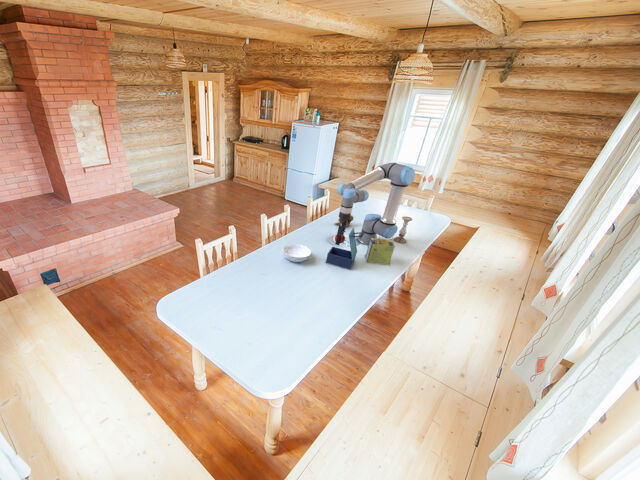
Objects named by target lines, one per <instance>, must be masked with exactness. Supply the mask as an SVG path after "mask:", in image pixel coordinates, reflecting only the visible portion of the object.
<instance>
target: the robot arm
mask: <svg viewBox="0 0 640 480" xmlns="http://www.w3.org/2000/svg"><path fill="white" fill-rule="evenodd" d="M415 177H416V171H415V169H414V168H413V167H411V166H409V165H405V164H401V163H397V162H388V163H383V164H381V165H379V166H377V167H375V168H374V170H372V171H370V172H368V173H366V174H364V175H362V176H360V177H358V178H356V179H355V180H352V181H350V182H348V183H347V184H345V183H340V184H339V185H338V186H337V189H336V193H337V194H338V195H340V196H342V198H341V203H340V204H341V205H340V206H339V213H338V219H339V218H341V220H340V223H339V225H338V227H337V232H336V234H335V236H336V237H337V239H336V241H335V245H336V246H340V244H341V243H340V240H341V234H343V235H344V236H345V234H344V233H346V228H347V227H346V223H347V219H350V216H351V215H352V212H353V207H354V204H356V203H363V202H365V201H368V199H369V196H370V195H369V191H367V190H366V189H364V188H366V187H367V186H369V185H371V184H373V183H376V182H377V181H382V180H386V179H388V180H390V183H389V184H390V186H391V188H390V192H389V195H388V197H387V202H386V205H385V208H384V212H383V215H381V214H378V213H367V214H366V215H365V217H364V219H363V222H362V228H361V231H360V232H362V231H364V232H365V233H364V235H363V237H362V238H360V237H356V241H357V242H358V243H360V244H363V245H366V246H368V245H369V242H370V238H377V237H378V236H381V238H383V239H386V240H389V239H391V238H393V236H395V235H396V234H397V232H398V230H399V227H398V225H396V224H397V220H396V218H397V215H398V210H399V208H400V205H401V201H402V198H403V196H404V192H405V189H406V188H408V186H409V185H411V184H412V183H413V182H414V181H415V179H416V178H415ZM358 236H360V234H358ZM377 239H378V238H377Z"/></svg>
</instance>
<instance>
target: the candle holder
mask: <svg viewBox="0 0 640 480" xmlns="http://www.w3.org/2000/svg"><path fill="white" fill-rule="evenodd" d="M401 220H403V222H402V227H401V228H400V229H399V231H398V236H396V237H394V241H395V242H396V243H398V244H399V243H400V244H405V243H406V241H407V240H406V238H405V236H406V234H407V226H408V225H409V222H412V221H413V218H412V217H410V216H405V215H404V216H402V217H401Z"/></svg>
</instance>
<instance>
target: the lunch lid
mask: <svg viewBox="0 0 640 480" xmlns="http://www.w3.org/2000/svg"><path fill="white" fill-rule="evenodd" d="M361 231H362V230H361ZM361 231H360V232H355V228H353V227H352V229H351V230H350V232H349V234H348V241H349V249H350V251H351V255H352V260H353V259H354V257H355V255H356V256H357V253H358V247H357V239H356V238H358V237H360V238H362V237H363V235H364V233H365V232H364V231H362V232H361ZM359 234H360V236H359ZM355 258H356V257H355Z"/></svg>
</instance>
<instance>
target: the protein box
mask: <svg viewBox="0 0 640 480" xmlns="http://www.w3.org/2000/svg"><path fill="white" fill-rule="evenodd" d="M395 247H396V246H395V243H394V241H393V239H387V238H370V242H369V245H367V250H366V253H365V258H366V263H370V264H378V265H386V266H387V265H388V266H389V265H390V263H391V259H392V256H393V254H394V251H395V249H396V248H395Z"/></svg>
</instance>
